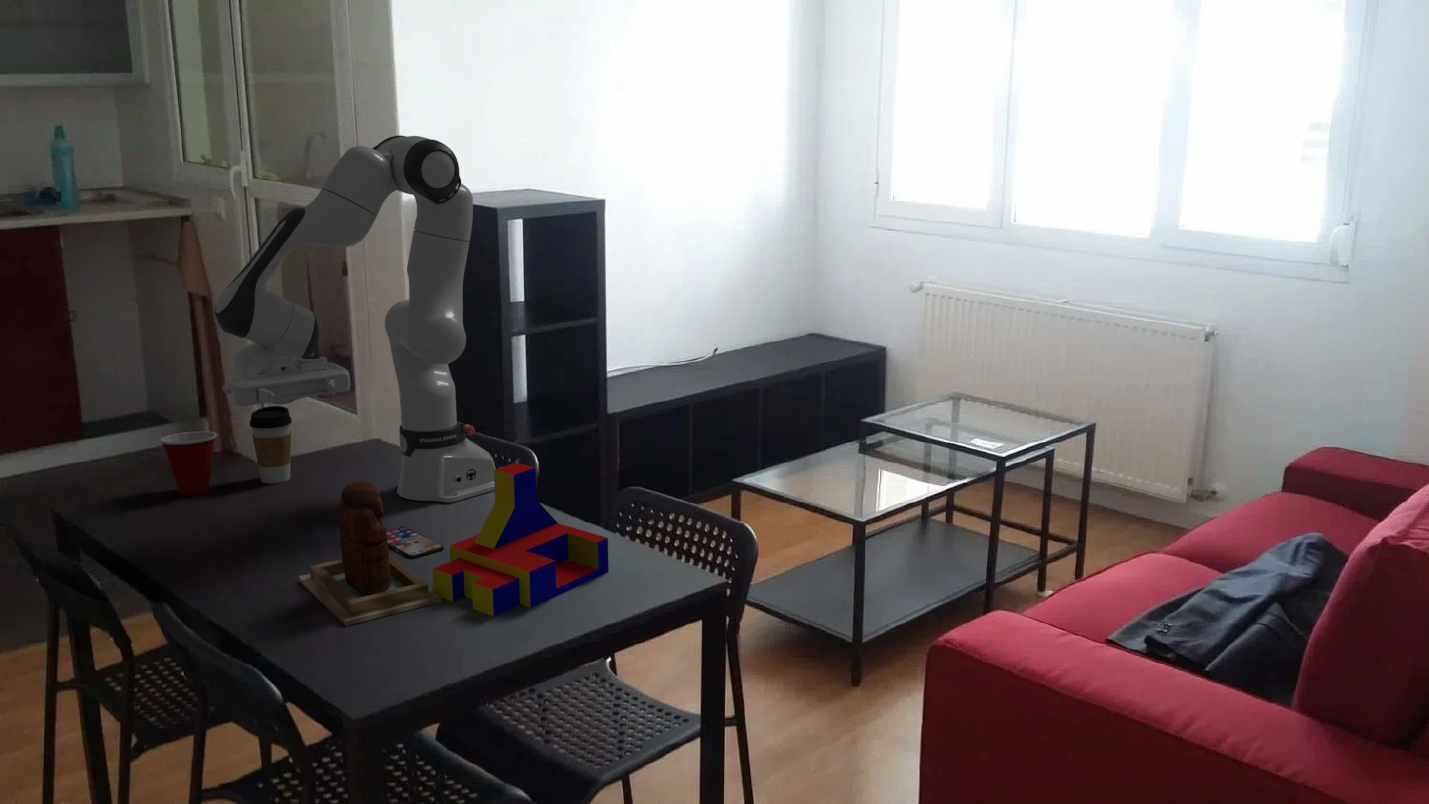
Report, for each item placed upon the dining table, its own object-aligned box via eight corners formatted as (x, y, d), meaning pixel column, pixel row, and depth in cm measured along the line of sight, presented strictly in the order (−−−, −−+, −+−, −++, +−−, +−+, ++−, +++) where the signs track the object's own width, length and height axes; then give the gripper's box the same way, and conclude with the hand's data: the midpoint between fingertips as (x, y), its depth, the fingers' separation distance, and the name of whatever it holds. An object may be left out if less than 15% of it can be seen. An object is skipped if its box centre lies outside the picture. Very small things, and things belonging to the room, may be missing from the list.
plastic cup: (221, 479, 264) (215, 425, 261) (223, 495, 254) (218, 438, 251) (165, 486, 260) (158, 430, 256) (165, 502, 250) (159, 444, 247)
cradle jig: (389, 560, 221) (388, 545, 221) (441, 601, 204) (440, 585, 203) (299, 580, 212) (297, 565, 211) (346, 626, 195) (344, 609, 194)
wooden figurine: (401, 591, 206) (394, 487, 201) (363, 600, 202) (356, 495, 197) (372, 569, 215) (365, 469, 210) (336, 577, 211) (328, 476, 206)
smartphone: (410, 557, 221) (368, 534, 232) (410, 562, 222) (369, 539, 232) (446, 546, 226) (404, 524, 237) (446, 551, 227) (404, 529, 237)
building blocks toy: (424, 592, 208) (418, 488, 204) (530, 548, 228) (527, 453, 223) (503, 622, 198) (499, 513, 193) (608, 573, 217) (606, 473, 212)
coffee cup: (303, 473, 268) (297, 406, 264) (286, 486, 260) (280, 416, 256) (265, 472, 269) (259, 405, 265) (247, 484, 261) (240, 415, 257)
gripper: (217, 369, 218) (240, 385, 207) (332, 355, 230) (360, 369, 219) (220, 404, 220) (244, 421, 209) (334, 388, 231) (362, 404, 221)
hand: (304, 394), depth 214 cm, fingers open, 8 cm apart
